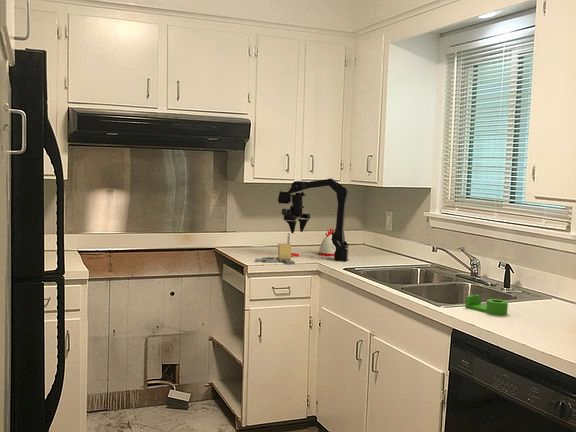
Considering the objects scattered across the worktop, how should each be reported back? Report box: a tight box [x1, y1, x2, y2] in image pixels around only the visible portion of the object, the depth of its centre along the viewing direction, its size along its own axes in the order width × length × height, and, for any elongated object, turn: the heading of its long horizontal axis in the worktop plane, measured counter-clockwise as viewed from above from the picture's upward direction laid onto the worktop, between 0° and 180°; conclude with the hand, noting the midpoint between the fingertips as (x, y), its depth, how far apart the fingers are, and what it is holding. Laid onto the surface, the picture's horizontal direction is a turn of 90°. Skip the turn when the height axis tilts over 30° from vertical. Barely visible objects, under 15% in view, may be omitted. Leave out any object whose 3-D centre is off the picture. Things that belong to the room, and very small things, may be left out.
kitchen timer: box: [318, 228, 336, 257], centre depth 360 cm, size 14×14×15 cm
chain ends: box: [254, 256, 296, 265], centre depth 327 cm, size 18×15×2 cm
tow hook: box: [286, 232, 300, 258], centre depth 354 cm, size 8×13×9 cm
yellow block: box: [277, 243, 292, 262], centre depth 332 cm, size 6×4×9 cm, turn 105°
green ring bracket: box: [464, 294, 509, 317], centre depth 230 cm, size 15×7×5 cm, turn 34°
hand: (296, 232), depth 346 cm, fingers open, 9 cm apart
